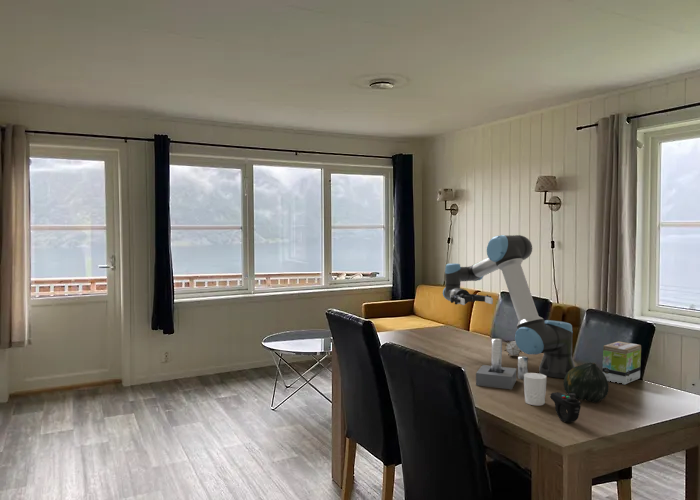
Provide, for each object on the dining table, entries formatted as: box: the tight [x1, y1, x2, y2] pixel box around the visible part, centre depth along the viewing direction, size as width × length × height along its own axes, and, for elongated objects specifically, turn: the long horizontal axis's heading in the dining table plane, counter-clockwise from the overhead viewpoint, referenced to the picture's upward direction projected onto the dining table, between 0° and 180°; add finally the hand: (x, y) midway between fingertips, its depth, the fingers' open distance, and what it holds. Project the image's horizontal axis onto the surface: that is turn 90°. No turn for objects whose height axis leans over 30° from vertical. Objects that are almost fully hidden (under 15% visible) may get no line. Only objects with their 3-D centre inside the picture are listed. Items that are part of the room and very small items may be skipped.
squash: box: [563, 362, 610, 403], centre depth 197 cm, size 14×15×15 cm
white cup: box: [523, 372, 548, 407], centre depth 194 cm, size 8×8×10 cm
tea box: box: [601, 341, 642, 385], centre depth 223 cm, size 15×10×15 cm, turn 131°
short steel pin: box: [517, 355, 529, 381], centre depth 225 cm, size 4×4×9 cm
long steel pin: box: [490, 337, 503, 373], centre depth 219 cm, size 4×4×18 cm
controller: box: [549, 392, 582, 423], centre depth 175 cm, size 4×12×10 cm, turn 14°
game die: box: [504, 339, 523, 357], centre depth 264 cm, size 9×8×10 cm
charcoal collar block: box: [475, 364, 517, 390], centre depth 219 cm, size 14×14×5 cm
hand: (478, 301), depth 242 cm, fingers open, 13 cm apart
